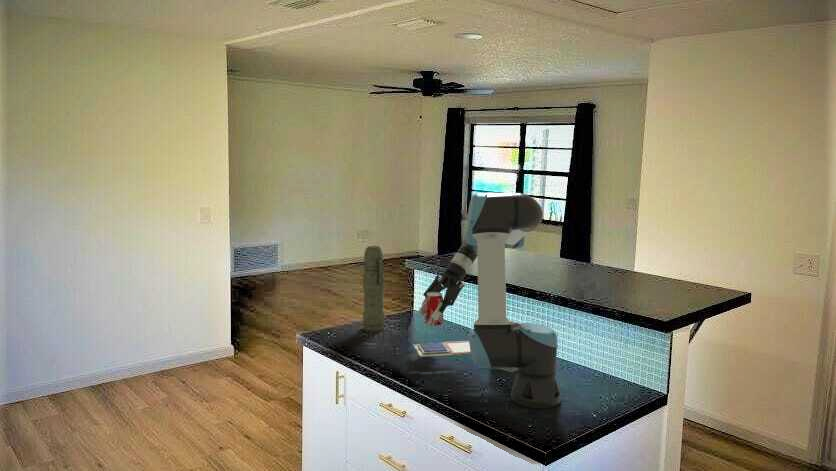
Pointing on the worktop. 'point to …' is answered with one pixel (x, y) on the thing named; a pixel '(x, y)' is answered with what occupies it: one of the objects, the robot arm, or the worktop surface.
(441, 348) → the ink pad
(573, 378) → the worktop surface
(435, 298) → the soda can
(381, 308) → the thermos
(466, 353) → the blotter board
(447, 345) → the orange bordered square plate
